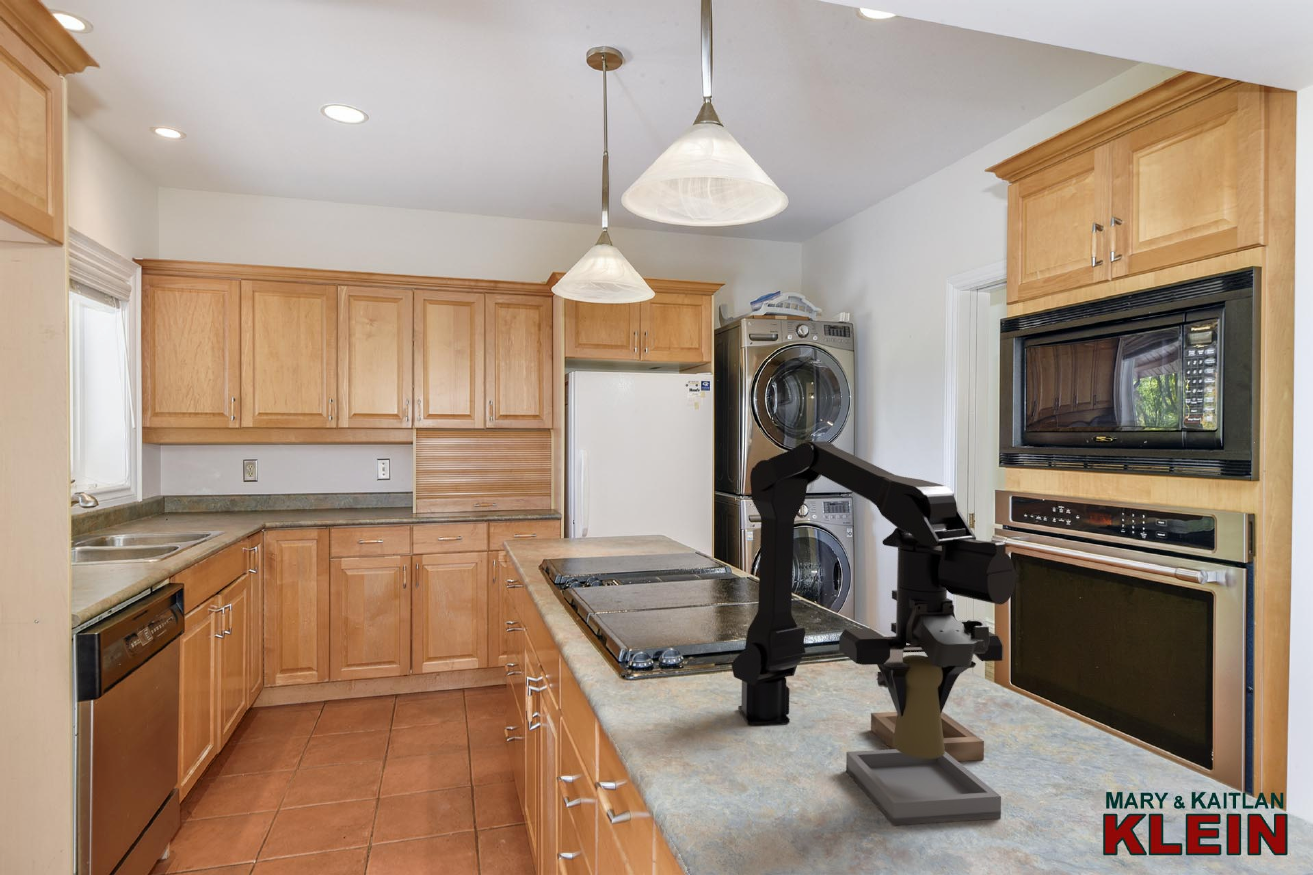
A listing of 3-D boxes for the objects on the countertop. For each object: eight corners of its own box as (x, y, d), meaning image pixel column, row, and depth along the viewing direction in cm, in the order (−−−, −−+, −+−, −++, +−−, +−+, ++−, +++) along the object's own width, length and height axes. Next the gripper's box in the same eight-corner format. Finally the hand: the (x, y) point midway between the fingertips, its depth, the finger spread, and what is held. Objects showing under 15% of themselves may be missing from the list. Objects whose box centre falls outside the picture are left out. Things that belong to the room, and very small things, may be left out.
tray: (893, 825, 79) (894, 802, 79) (846, 770, 92) (846, 751, 92) (1000, 817, 81) (1001, 796, 81) (939, 765, 94) (939, 746, 94)
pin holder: (907, 763, 95) (907, 744, 95) (870, 729, 105) (871, 712, 105) (983, 759, 96) (984, 741, 96) (939, 726, 107) (940, 709, 107)
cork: (949, 761, 83) (951, 667, 83) (895, 755, 85) (897, 663, 84) (940, 739, 89) (941, 652, 89) (889, 734, 90) (891, 648, 90)
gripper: (879, 604, 77) (876, 747, 78) (1035, 601, 80) (1032, 739, 80) (838, 582, 88) (836, 707, 89) (977, 580, 91) (974, 702, 91)
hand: (918, 714), depth 87 cm, fingers closed on cork, 4 cm apart
